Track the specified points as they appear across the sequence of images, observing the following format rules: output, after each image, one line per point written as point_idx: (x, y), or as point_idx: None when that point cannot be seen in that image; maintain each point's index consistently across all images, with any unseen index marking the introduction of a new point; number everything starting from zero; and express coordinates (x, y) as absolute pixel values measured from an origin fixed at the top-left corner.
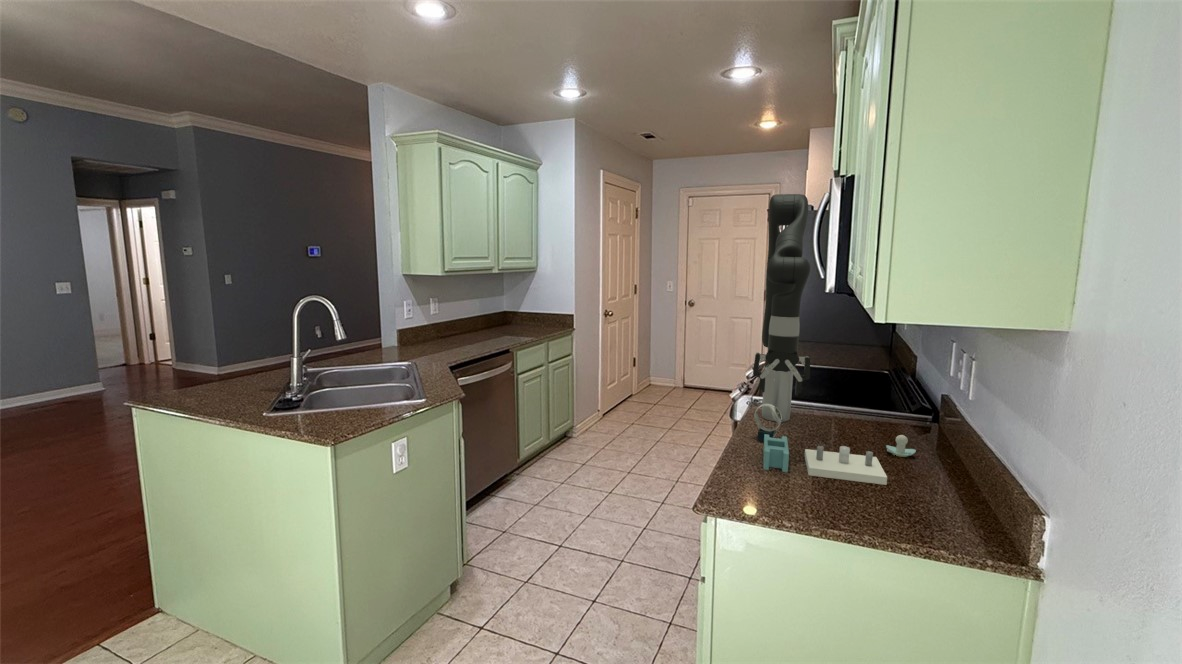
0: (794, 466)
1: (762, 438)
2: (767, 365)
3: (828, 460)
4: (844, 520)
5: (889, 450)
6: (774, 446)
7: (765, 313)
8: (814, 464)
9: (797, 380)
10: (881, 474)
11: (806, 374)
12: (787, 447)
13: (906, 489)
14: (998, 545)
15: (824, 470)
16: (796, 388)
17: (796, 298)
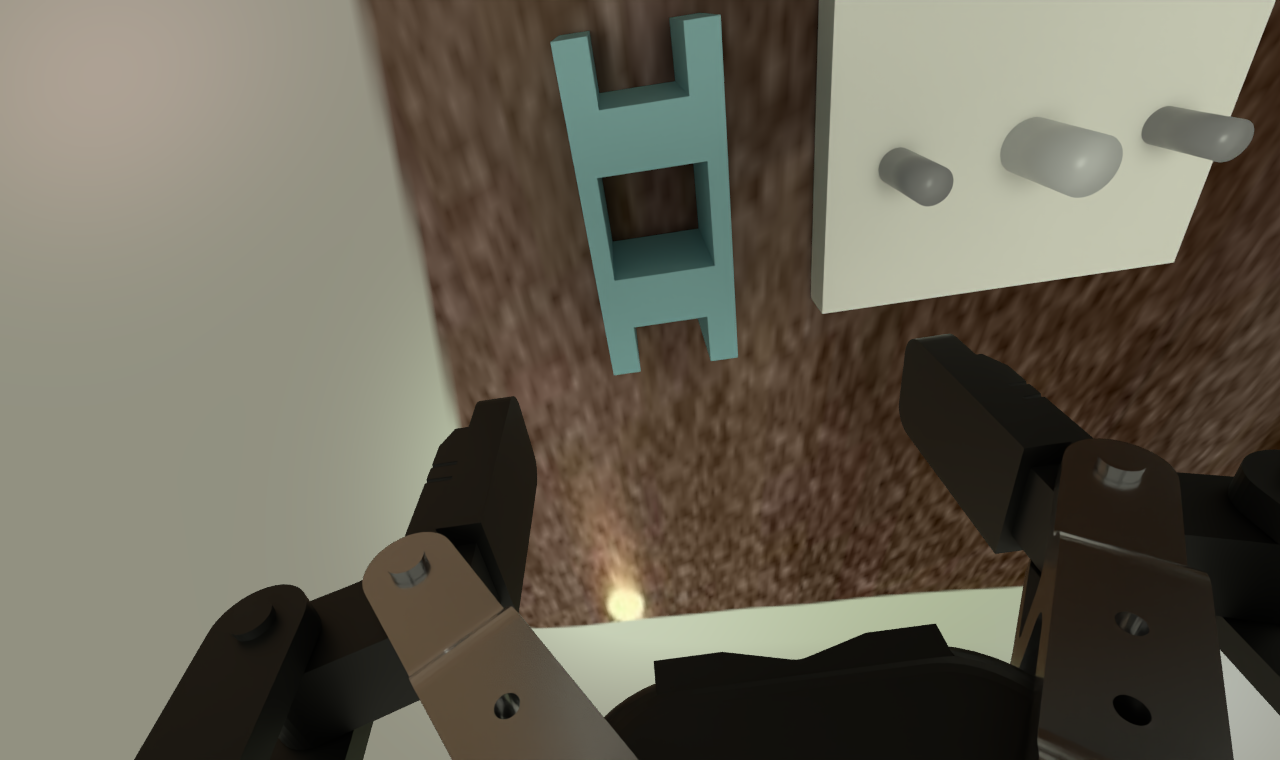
0: (751, 215)
1: None
2: (442, 740)
3: (945, 160)
4: (875, 558)
5: None
6: (654, 279)
7: None
8: (855, 258)
9: (1025, 549)
10: (1163, 237)
11: (1265, 665)
12: (728, 260)
13: (1211, 256)
14: None
15: (891, 300)
16: (945, 476)
17: None
